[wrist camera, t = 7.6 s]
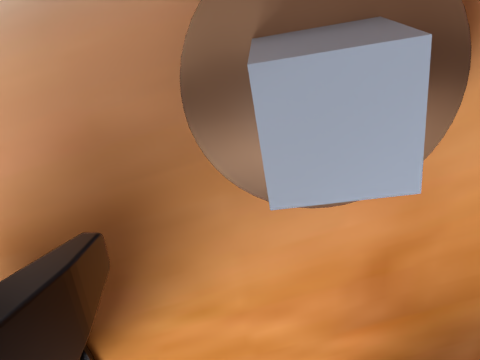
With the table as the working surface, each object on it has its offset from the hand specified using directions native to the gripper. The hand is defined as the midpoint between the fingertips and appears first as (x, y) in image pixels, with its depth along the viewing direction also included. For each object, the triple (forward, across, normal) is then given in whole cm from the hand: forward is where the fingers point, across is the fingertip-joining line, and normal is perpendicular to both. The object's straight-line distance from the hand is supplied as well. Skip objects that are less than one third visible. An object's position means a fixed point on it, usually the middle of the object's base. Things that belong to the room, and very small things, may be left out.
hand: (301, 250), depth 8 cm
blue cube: (+9, -2, -1) cm, 10 cm away
